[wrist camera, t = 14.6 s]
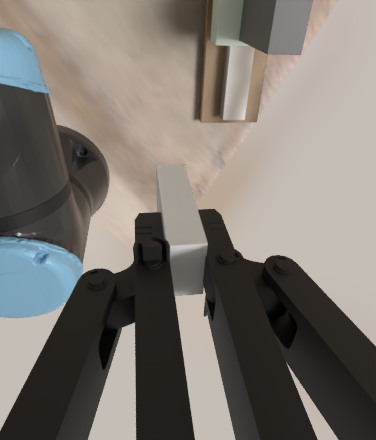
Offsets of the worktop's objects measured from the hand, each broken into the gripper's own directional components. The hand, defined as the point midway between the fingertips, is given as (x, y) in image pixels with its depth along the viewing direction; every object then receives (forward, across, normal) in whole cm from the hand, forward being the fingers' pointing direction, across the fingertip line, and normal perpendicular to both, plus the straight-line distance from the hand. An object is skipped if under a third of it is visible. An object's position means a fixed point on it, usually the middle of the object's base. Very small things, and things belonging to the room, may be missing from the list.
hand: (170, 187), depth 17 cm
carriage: (+27, +11, +7) cm, 30 cm away
